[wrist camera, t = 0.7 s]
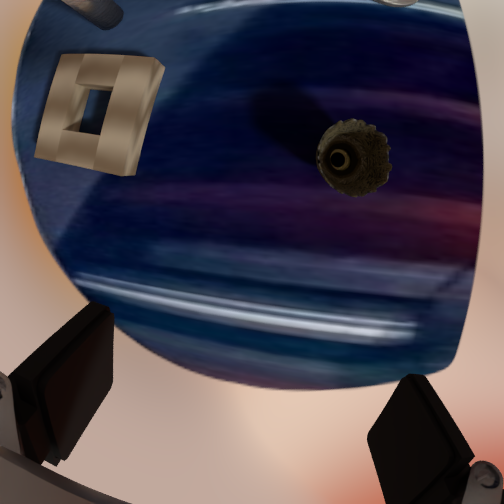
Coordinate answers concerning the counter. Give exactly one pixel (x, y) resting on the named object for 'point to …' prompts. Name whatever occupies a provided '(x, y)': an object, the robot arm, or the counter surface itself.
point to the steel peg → (98, 12)
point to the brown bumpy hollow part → (354, 157)
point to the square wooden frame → (117, 116)
